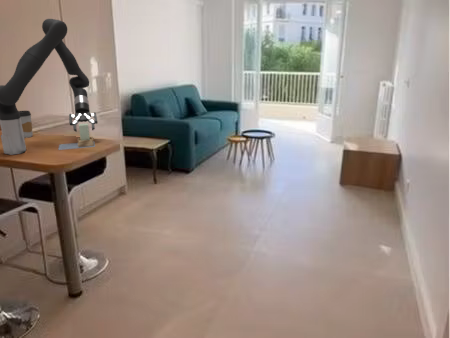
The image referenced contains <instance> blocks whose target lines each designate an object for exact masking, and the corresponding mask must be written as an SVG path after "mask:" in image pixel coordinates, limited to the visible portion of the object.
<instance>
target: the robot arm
mask: <svg viewBox="0 0 450 338" xmlns="http://www.w3.org/2000/svg"><path fill="white" fill-rule="evenodd" d="M41 27H42V31H43V33H44V36H43V38H42V39H41V40H39V41H37V42H36V43H35V44H33V45H32V46H30V47H29V48H28V49H27V50H26V51H25V52H24V53H23V54H22V55H21V57H20V59H19V60H18V62H17V65H16V67H15V70H14V73H13V75H12V77H11V78H10V79H9V80H8V81H7V83H5V84H4V85H3V84H1V85H0V130H1V134H0V139H1V144H2V149H3V154H6V155H11V156H12V155H18V154H19V155H20V154H25V153H26V151H27V147H26V141H25V138H24V134H23V128H22V123H21V117H20V113H19V111H20V110H18V108H17V102H18V101H19V100H20V98H21V96H22V94H23V92H24V91H25V89H26V87H27V86H28V84H29V83H30V82H31V80H33V78H34V77H35V75H36V74H37V73H38V71H39V70H40V69H41V68H42V66H43V65H44V64H45V61H46V60H47V59H48V58H49V57H50V55H51V53H52V52H53V51H54V50H55V51H56V53H57V55H58V56H59V58H60V60H61V62H62V64H63V66H64V69H65V70H66V72H67V74H68V75H70V76H73V77H70V79H69V82H68V83H69V85H70V87H71V90H72V92H73V98H74V103H73V104H74V106H73V107H74V114H72V113H69V115H68V117H69V118H68V124H69V126H72V127H73V129H72V130H73V132H76V133H77V132H78V131H77V125H79V124H80V123H85V122H88V124H90V125H91V131H94V130H95V129H96V127H95V124H96V125H97V124H98V117H97V112H93V113H92V112H91V111H90V103H89V98H88V97H89V96H88V91H87V90H86V89H85V88H88V87H89V86H90V79H89V78H88V76H87V75H86V74H85V73H84V71H83V70H82V69H81V67H80V65H79V63H78V61H77V59H76V57H75V55H74V54H73V53H72V51H71V50H70V49H69V48H68V46H67V45H66V44H65V43H64V41H63V40H64V39H65V38H66V36H67V33H68V26H67V24H66V23H65V22H64V21H62V20H60V19H56V18H55V19H53V18H46V19H44V20H43V22H42V25H41ZM74 118H75V119H74ZM92 118H93V119H94V120H93V119H92Z"/></svg>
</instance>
